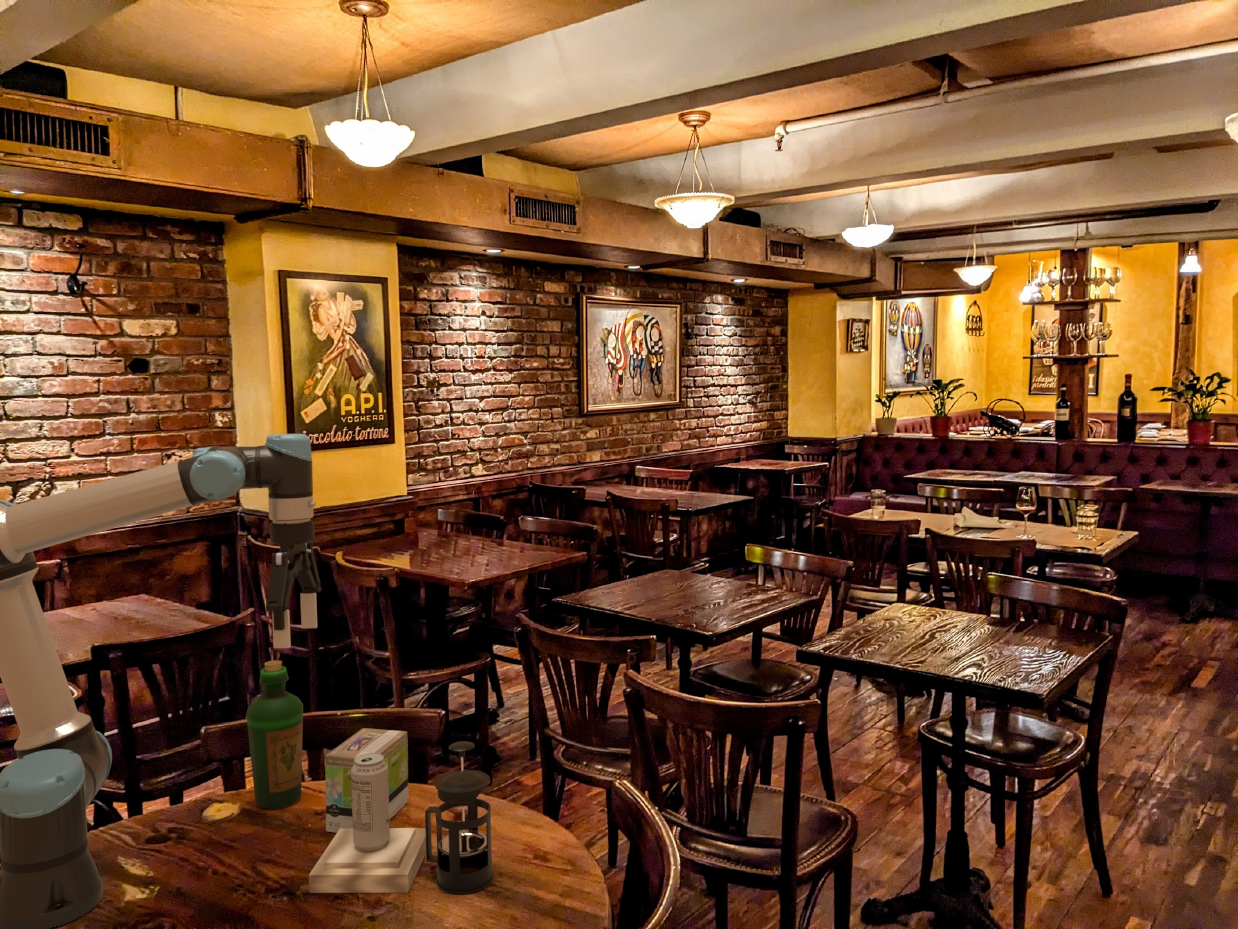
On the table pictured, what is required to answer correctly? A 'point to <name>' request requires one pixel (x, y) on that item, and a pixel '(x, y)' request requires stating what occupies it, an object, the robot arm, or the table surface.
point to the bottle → (275, 740)
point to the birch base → (369, 864)
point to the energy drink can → (370, 802)
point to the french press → (461, 845)
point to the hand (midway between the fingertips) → (296, 637)
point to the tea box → (342, 762)
